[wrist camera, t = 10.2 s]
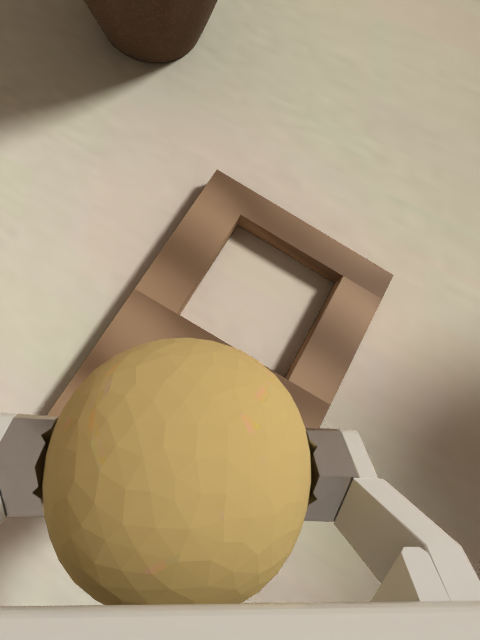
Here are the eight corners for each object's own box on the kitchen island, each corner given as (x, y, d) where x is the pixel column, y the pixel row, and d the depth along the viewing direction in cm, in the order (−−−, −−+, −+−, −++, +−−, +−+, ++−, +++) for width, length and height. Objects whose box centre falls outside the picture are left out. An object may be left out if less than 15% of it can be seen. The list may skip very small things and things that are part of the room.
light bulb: (259, 373, 18) (352, 326, 8) (252, 530, 17) (356, 689, 7) (111, 362, 17) (28, 296, 8) (90, 526, 16) (-48, 702, 6)
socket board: (215, 181, 29) (217, 167, 27) (382, 281, 29) (395, 274, 28) (19, 466, 23) (7, 470, 22) (230, 590, 23) (234, 604, 22)
